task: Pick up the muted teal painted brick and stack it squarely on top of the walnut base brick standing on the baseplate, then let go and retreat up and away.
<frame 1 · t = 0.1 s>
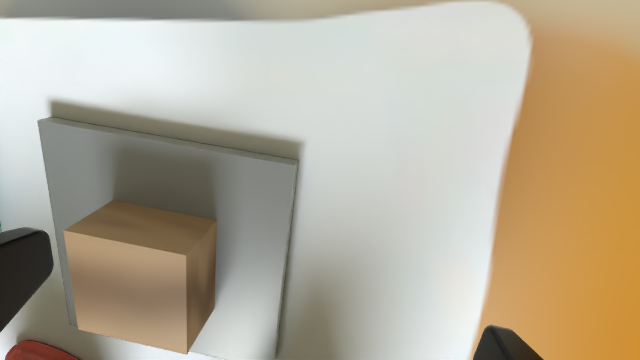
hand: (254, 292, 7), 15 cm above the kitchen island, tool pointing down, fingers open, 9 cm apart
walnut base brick: (165, 256, 25), point 1 cm above the kitchen island, touching baseplate
baseplate: (173, 248, 26), on the kitchen island
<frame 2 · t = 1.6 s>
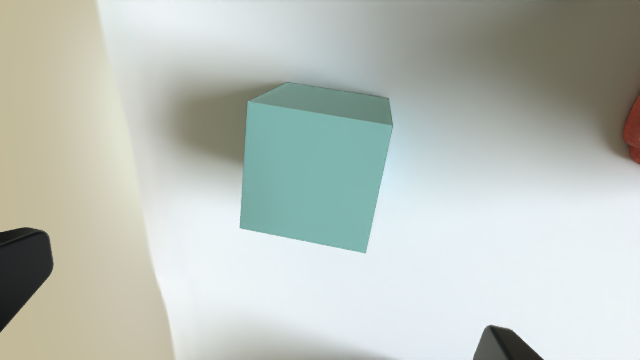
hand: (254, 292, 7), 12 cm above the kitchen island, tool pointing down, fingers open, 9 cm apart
teal brick: (330, 139, 19), on the kitchen island
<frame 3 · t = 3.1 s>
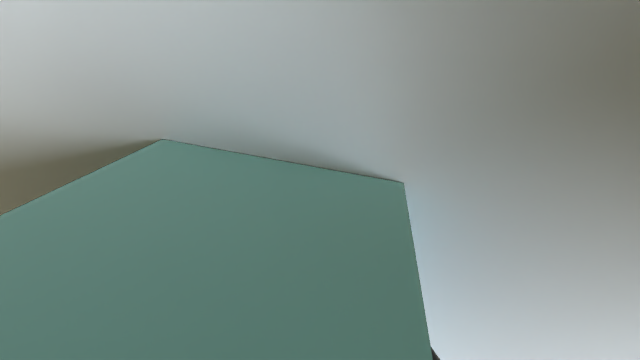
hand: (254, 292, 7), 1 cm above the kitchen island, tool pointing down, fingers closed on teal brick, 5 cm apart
teal brick: (268, 263, 8), on the kitchen island, touching gripper
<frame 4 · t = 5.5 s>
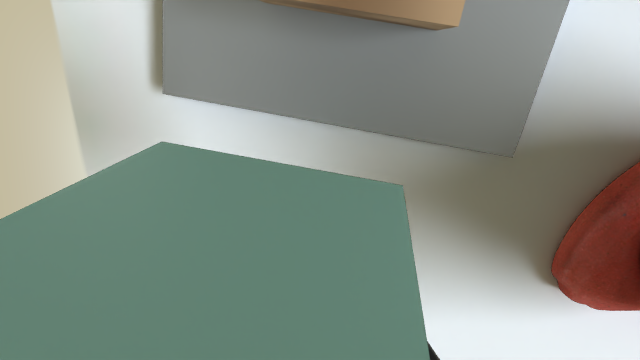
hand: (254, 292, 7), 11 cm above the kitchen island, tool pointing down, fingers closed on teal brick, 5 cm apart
teal brick: (268, 265, 8), point 10 cm above the kitchen island, touching gripper
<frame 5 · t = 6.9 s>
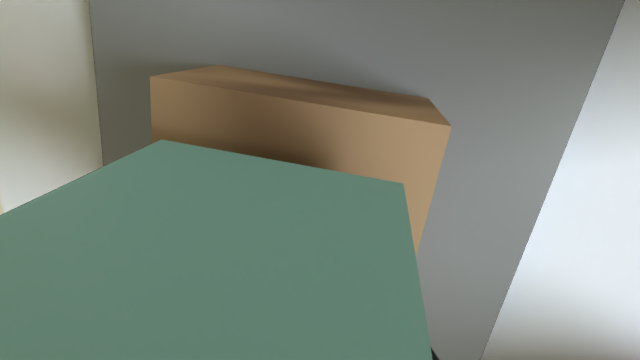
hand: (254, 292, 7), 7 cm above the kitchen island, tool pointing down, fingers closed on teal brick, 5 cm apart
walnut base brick: (307, 179, 13), point 1 cm above the kitchen island, touching baseplate
baseplate: (312, 170, 14), on the kitchen island
teal brick: (268, 264, 8), point 6 cm above the kitchen island, touching gripper
when the fingers open (7 cm above the kitchen island, at t = 7.8 s): teal brick stays where it is, resting on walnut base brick.
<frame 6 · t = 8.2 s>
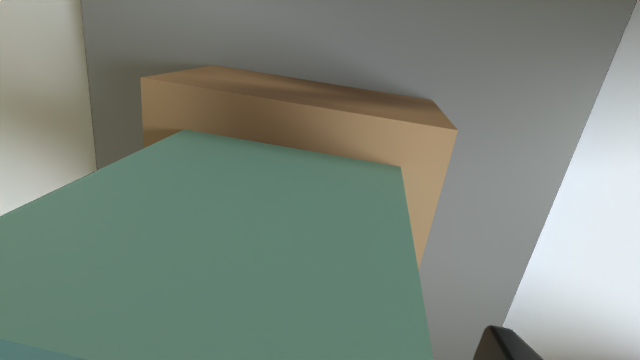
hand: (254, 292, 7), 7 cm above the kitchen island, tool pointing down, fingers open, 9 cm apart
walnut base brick: (306, 183, 13), point 1 cm above the kitchen island, touching baseplate, teal brick
baseplate: (311, 174, 14), on the kitchen island
teal brick: (279, 242, 9), point 5 cm above the kitchen island, touching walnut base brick
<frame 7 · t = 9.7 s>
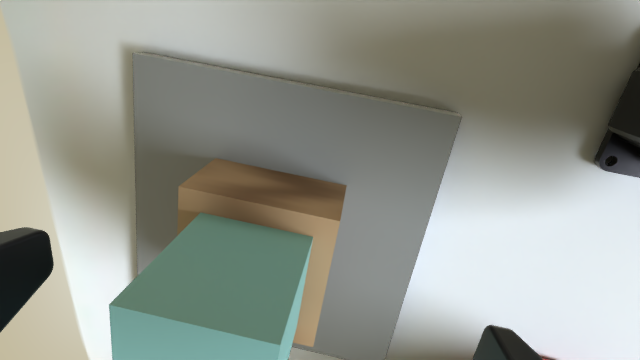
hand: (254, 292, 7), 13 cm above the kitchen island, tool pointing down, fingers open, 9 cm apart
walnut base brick: (272, 229, 21), point 1 cm above the kitchen island, touching baseplate, teal brick
baseplate: (276, 221, 21), on the kitchen island
teal brick: (250, 272, 17), point 5 cm above the kitchen island, touching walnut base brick
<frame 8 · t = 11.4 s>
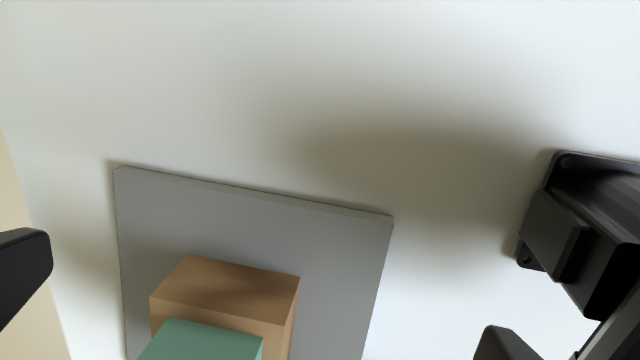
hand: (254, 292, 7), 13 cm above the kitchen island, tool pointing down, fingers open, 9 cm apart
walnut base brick: (240, 311, 23), point 1 cm above the kitchen island, touching baseplate, teal brick
baseplate: (245, 301, 24), on the kitchen island
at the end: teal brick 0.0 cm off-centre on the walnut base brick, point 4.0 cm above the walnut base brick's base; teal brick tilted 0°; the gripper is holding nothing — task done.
